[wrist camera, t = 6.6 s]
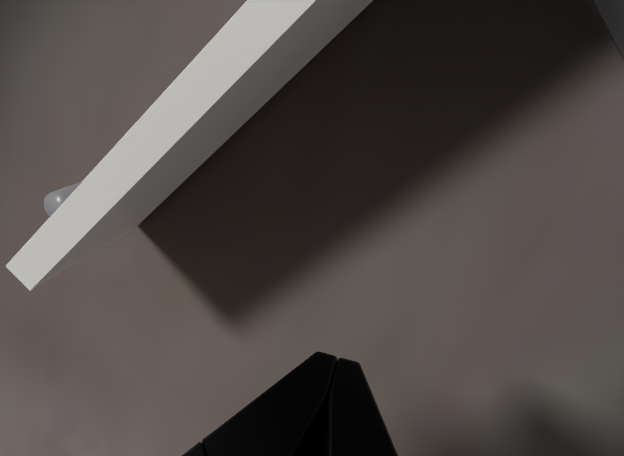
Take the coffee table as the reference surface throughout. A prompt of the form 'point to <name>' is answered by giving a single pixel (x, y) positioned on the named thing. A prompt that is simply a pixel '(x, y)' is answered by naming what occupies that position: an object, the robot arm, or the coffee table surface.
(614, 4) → the grey slab
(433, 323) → the coffee table surface
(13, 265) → the side door
